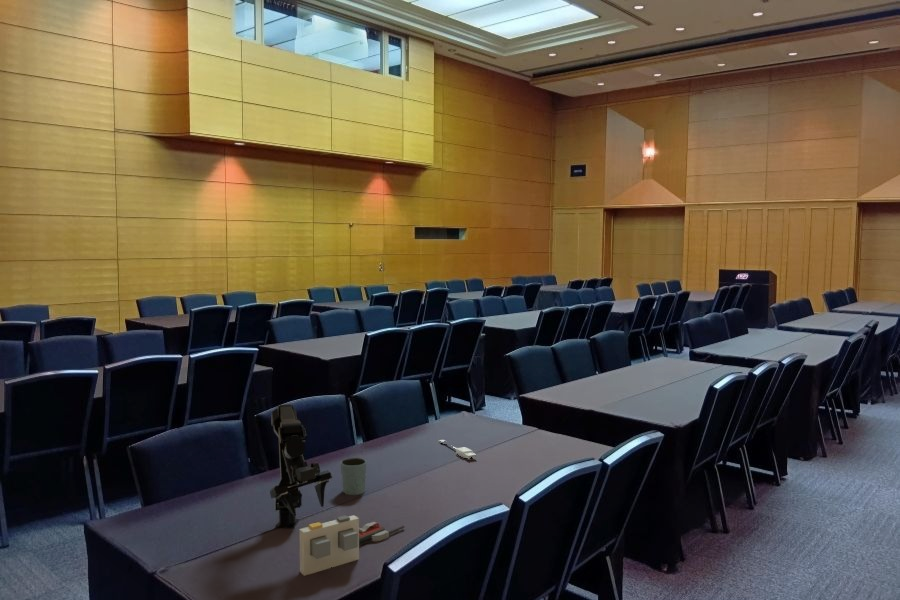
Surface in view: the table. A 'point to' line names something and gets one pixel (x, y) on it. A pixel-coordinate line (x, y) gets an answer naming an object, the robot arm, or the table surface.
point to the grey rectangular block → (320, 547)
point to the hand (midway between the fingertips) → (309, 511)
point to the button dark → (347, 539)
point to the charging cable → (464, 451)
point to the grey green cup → (353, 475)
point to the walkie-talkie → (374, 532)
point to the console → (336, 553)
